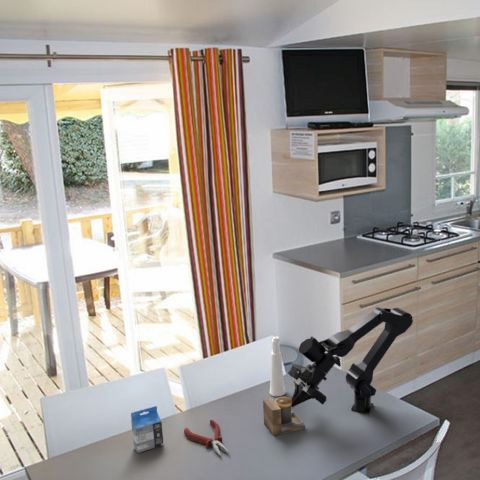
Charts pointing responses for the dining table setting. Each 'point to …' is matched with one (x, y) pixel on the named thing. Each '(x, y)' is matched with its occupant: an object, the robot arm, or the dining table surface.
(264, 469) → the dining table surface
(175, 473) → the dining table surface
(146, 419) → the label tape box
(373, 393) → the robot arm
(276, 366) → the cosmetic bottle
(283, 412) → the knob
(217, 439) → the pliers
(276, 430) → the mount
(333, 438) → the dining table surface
